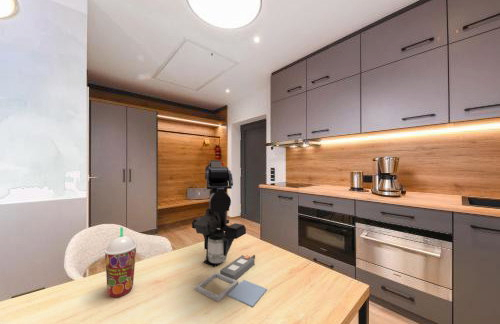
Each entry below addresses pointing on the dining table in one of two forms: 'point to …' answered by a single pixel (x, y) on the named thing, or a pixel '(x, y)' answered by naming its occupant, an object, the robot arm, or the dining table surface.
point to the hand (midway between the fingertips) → (217, 252)
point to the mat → (247, 293)
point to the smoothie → (120, 265)
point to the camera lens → (216, 248)
